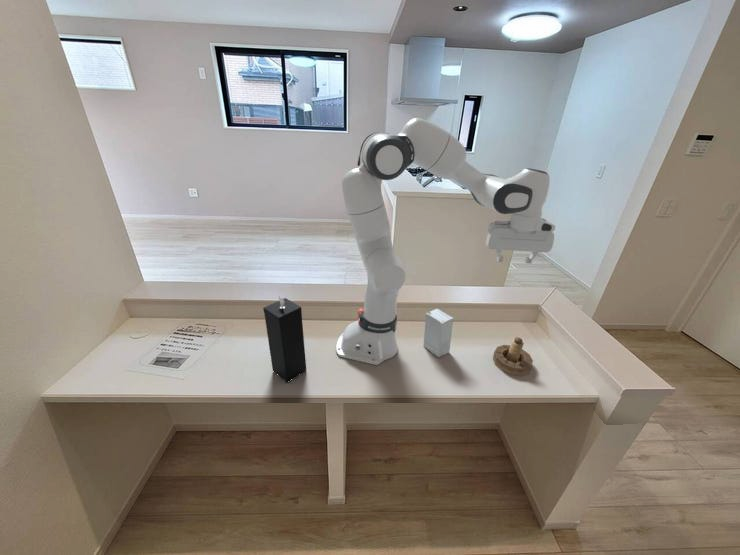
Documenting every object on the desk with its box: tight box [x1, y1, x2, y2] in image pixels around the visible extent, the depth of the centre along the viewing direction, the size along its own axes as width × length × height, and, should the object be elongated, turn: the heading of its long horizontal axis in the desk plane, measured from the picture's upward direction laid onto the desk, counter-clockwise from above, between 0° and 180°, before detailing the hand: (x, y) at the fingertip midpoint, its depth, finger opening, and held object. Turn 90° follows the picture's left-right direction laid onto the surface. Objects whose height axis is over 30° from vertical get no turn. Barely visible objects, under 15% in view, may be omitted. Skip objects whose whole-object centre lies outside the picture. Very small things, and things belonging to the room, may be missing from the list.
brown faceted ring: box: [492, 344, 534, 376], centre depth 108 cm, size 12×12×3 cm
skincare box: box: [423, 308, 454, 358], centre depth 111 cm, size 8×6×15 cm
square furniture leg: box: [263, 295, 307, 383], centre depth 96 cm, size 8×8×28 cm
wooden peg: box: [506, 336, 524, 363], centre depth 107 cm, size 4×4×10 cm
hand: (513, 262), depth 105 cm, fingers open, 8 cm apart
